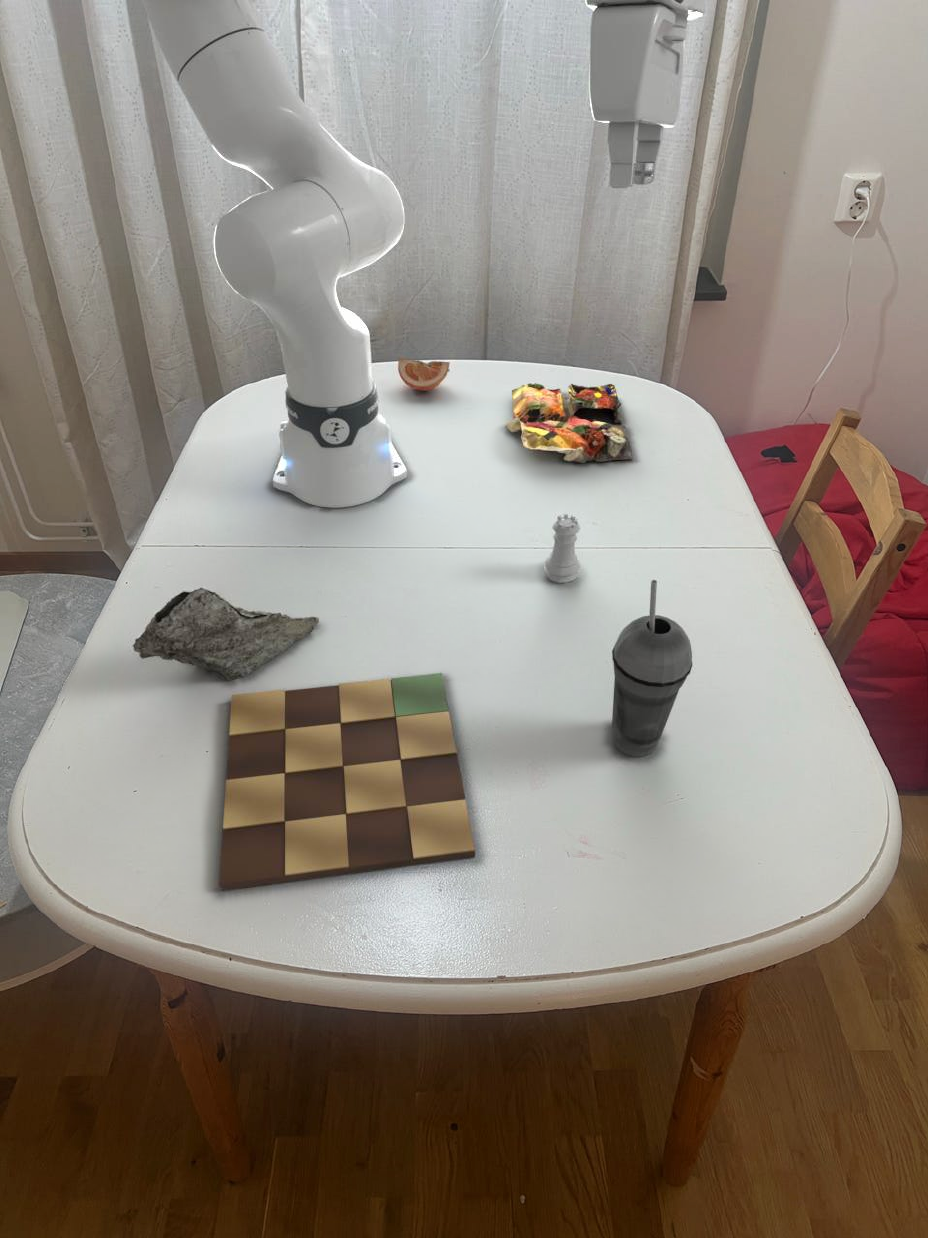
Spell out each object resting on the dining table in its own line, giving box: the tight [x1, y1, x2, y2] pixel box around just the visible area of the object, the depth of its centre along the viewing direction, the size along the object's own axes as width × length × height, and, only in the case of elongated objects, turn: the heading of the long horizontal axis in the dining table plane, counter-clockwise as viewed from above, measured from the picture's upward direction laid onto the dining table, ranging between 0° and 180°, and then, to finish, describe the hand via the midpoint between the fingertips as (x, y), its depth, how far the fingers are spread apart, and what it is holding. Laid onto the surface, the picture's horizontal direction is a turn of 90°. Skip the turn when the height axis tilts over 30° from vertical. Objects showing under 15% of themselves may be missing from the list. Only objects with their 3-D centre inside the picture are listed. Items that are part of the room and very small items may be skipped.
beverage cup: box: [611, 579, 693, 758], centre depth 79 cm, size 7×7×20 cm
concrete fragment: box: [132, 587, 320, 681], centre depth 90 cm, size 6×19×11 cm, turn 131°
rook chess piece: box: [543, 513, 581, 584], centre depth 103 cm, size 4×4×8 cm
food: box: [504, 382, 634, 464], centre depth 131 cm, size 22×19×4 cm
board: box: [218, 672, 476, 891], centre depth 82 cm, size 22×22×1 cm
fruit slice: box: [397, 358, 451, 391], centre depth 140 cm, size 8×7×5 cm
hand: (632, 186), depth 74 cm, fingers open, 8 cm apart
